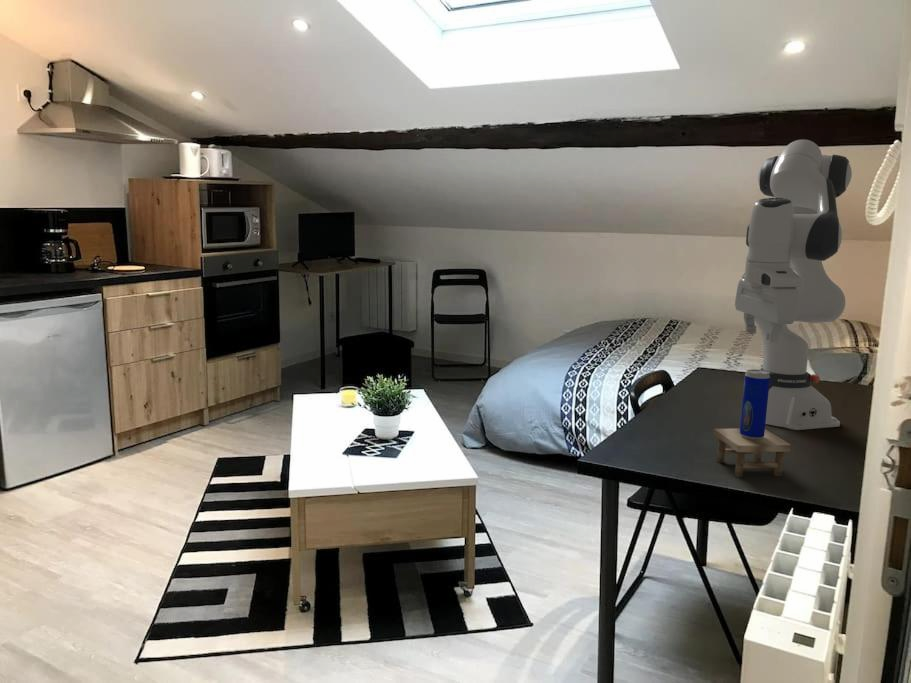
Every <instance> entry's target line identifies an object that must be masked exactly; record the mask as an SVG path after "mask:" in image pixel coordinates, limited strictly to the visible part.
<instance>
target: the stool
mask: <svg viewBox="0 0 911 683" xmlns="http://www.w3.org/2000/svg"><path fill="white" fill-rule="evenodd" d="M713 436H714V437H716V438H717V439H718V443H717V444H718V446H717V455H716V457H717V458H716V462H717V463H721V464H724V463H725V458H726V457H725V456H726V455H736V457H735V471H734V477H736V478H742V477H743V474H744V469H764V468H765V469H766V468H773V476H775V477H782V473H783V466H784V465H783V464H784V455H785V453H786V452H791V450H792V444H790V443H788V442H787V441H786V440H784V439H782V438H781V437H778V436H777V435H775V434H774V433H772V432H771V431H769V430H767V429H766V428H765V433H764V437H763V438H762V439H758V440H753V439H747V438H744V437H742V436H741V434H740V427H739V428H714V429H713ZM726 445H727V446H729V448H726ZM770 452H772V453H773V452H774V453H775V456H774V457H775V458H774V459H775V460H774V461H762V457H763V453H770ZM747 454H748V455H753V454H754V455H753V461H745V455H747Z"/></svg>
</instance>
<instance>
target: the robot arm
mask: <svg viewBox="0 0 911 683" xmlns="http://www.w3.org/2000/svg"><path fill="white" fill-rule="evenodd" d="M852 171H853V170H852V166H851V164H850V160H849V159H848V158H847V157H846V156H843V155H840V154H832V155H828V154H822V151H821V148H820V147H819V146H818V144H816V143H815V142H814V141H812V140H809V139H804V138H803V139H797V140H794V141H792V142H790V143H789V144H787V145H786V146H785V147H784V148H783V150H782V151H781V152H780V153H779V155H776V156H773V157H768V158H767V159H766V160H765V161H764V162H763V163H762V164H761V167H760V169H759V171H758V177H757V182H758V186H759V189H760V192H761V193H762V194H763V195H765V196H767V198H760V199H758V200H757V201H755V202H754V205H753V208H752V212H751V216H750V220H749V223H748V224H747V226H746V227H747V228H746V238H745V244H746V246H747V247H748V251H747V252H748V253H747V255H746V258H745V269H744V270H745V271H744V273H743V275H742V276H741V279H740V280H739V281H738V284H737V288H736V295H735V301H734V307H735V310H736V311H738V312H741V313H743V320H744V325H745V333H746V334H749V335H755V334H756V333H757V328H758V329H759V331H760V333H761V336H762V340H763V358H762V360H763V361H762V367H761V368H760V370H764V371H767V372H769V375H770V383H769V393H768V403H767V413H766V423H765V425H770V426H775V427H780V428H785V429H790V430H795V431H800V430H801V431H802V430H814V429H827V428H835V427H836V428H837V427H840V425H841V421H840V420H839V419H837V417H834V416H832V414H833V413H832V406H831V402H830V401H829V400H828V398H827V397H825V396H824V395H823V394H822V393H820V392H819V391H818V390H817V389H816V388H815V387H814V386H812V382H813V383H815V384H818V383H819V382H820V381H821V378H820V376H819V375H816V374H814V373H813V374H811V373H809V372H808V371H807V368H808V357H809V352H810V351H809V350H810V346H809V344H808V342H807V341H806V340H805V339H804V338H803V337H801V335H798V333H795V332H794V331H791V330H790V328H789V327H788V326H787V325H792V324H794V322H800V323H811V324H812V323H813V324H819V323H820V324H822V323H831V322H835V321H837V319H839V318H840V317H841V316H842V314H843V313H844V310H845V309H846V308H845V307H846V297H845V294H844V291H843V290H842V288H841V287H840V286H839V285H838V284H836V283H835V282H834V281H833V280H832V279H831V278H830V277H829V275H828V274H827V272H826V269H825V268H824V265H823V262H824V261H827V260H828V259H830V258H831V257H833V256H834V255H835V254H837V253H838V251H839V249H840V248H841V244H842V238H843V234H842V233H843V232H842V227H841V224H840V221H839V220H840V219H839V215H838V208H837V200H836V199H837V198H838V197H840V196H842V195H843V193H845V192H846V191H847V188H848V187H849V186H850V183H851V180H852V176H853V174H852ZM756 325H757V326H756Z"/></svg>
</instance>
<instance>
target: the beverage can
mask: <svg viewBox="0 0 911 683" xmlns="http://www.w3.org/2000/svg"><path fill="white" fill-rule="evenodd" d="M769 383H770V375H769V372H767V371H764V370H761V369H756V368H755V369H754V368H753V369H747V370H746V371H745V374H744V383H743V395H742V403H741V413H740V415H741V416H740V424H739V428H740V434H741V436H742V437H744V438H747V439H753V440H758V439H762V438H763V437H764V433H765V429H766V424H765V423H766V413H767V403H768V393H769Z"/></svg>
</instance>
